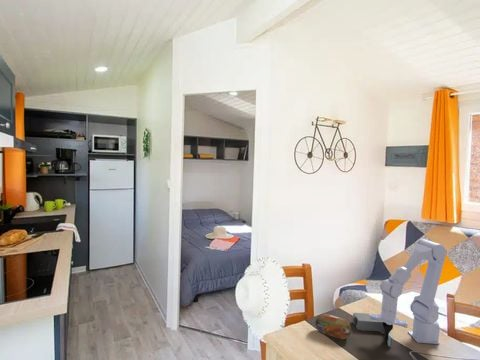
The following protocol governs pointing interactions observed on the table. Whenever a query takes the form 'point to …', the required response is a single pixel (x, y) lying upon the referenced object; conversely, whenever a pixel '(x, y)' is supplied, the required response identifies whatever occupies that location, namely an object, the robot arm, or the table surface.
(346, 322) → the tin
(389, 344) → the side door
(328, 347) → the table surface
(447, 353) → the table surface
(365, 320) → the camcorder
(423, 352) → the table surface
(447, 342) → the table surface
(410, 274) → the robot arm
